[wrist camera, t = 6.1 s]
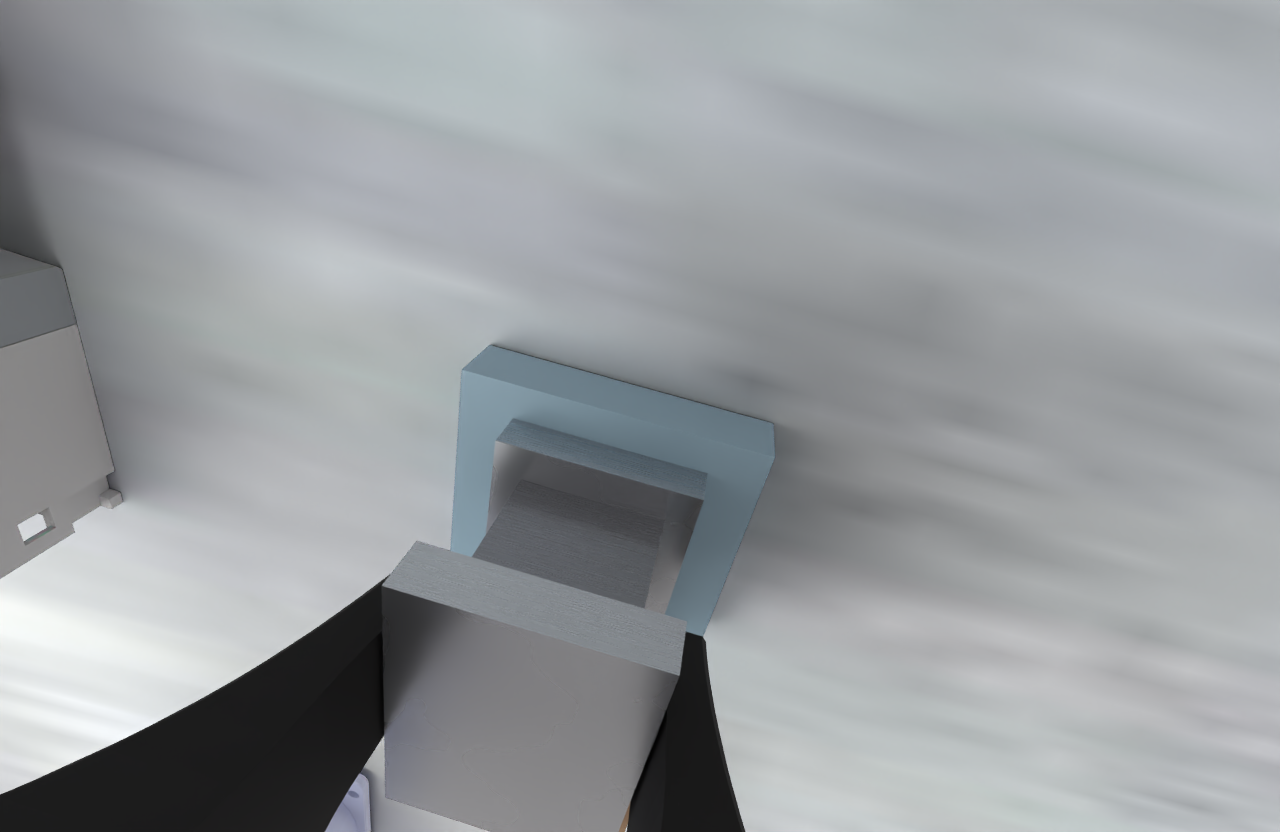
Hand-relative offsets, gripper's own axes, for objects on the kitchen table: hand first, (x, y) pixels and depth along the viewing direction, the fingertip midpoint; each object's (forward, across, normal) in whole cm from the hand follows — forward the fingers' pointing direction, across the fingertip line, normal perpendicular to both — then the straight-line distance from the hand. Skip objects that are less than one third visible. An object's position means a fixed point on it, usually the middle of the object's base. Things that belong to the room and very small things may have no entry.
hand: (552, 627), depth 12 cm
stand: (+4, 0, 0) cm, 4 cm away
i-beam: (+3, 0, 0) cm, 3 cm away
